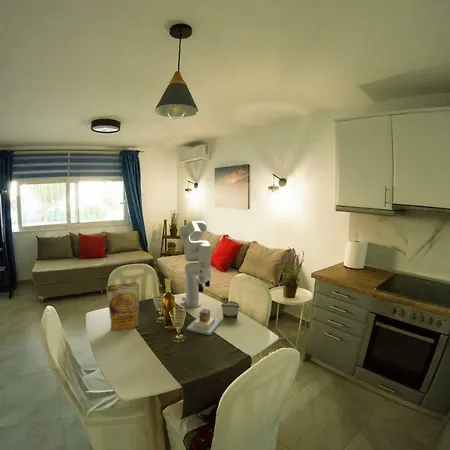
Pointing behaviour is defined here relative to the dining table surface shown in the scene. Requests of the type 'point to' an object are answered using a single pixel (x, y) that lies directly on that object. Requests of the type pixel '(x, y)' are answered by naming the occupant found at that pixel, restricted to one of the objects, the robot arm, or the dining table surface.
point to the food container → (230, 310)
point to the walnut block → (204, 315)
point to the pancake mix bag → (123, 305)
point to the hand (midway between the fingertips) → (204, 289)
